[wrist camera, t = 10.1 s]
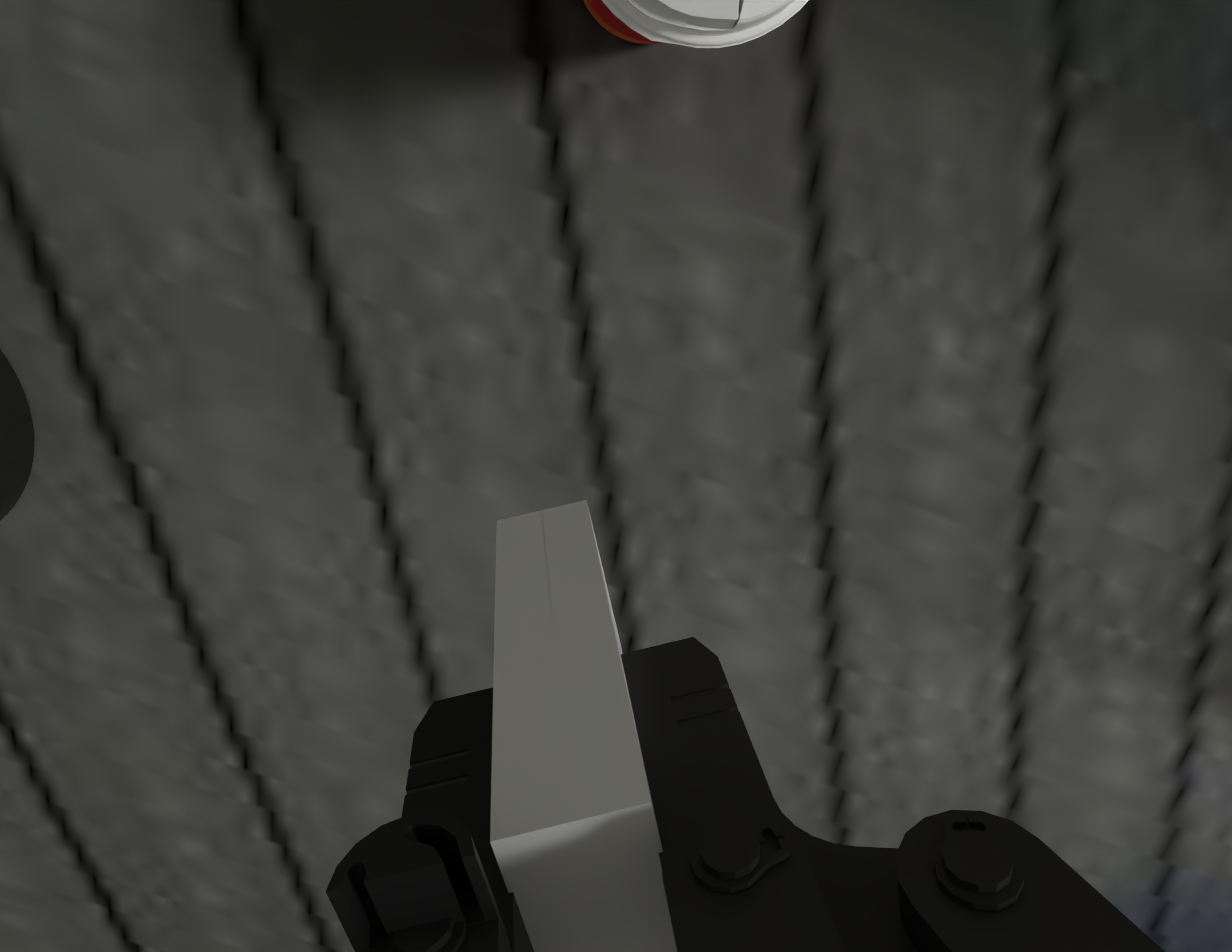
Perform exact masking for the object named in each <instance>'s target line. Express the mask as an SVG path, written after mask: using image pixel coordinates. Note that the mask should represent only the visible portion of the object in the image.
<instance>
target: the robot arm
mask: <svg viewBox="0 0 1232 952" xmlns="http://www.w3.org/2000/svg"><path fill="white" fill-rule="evenodd" d="M33 455H34V429H33V423H32V417H31V413H30V408H29V405H28V402H27V399H26V396H25V393H24V391H23V388H22V386H21V383H20V381H19V379H18V377H17V375H16V373H15V372H14V370H13V368H12V366H11V365H10V363H9V361H8V360H7V358H6V357H5V355H4V354H3V352H2V351H1V349H0V521H1V520H2V519H3V518H4V517H5V516H6V515H7V514H8V512H9V511H10V510H11V509H12V508H13V506H14V505H15V504H16V502H17V501H18V499H19V498H20V496H21V494H22V492H23V490H24V488H25V486H26V484H27V481H28V478H29V475H30V472H31V468H32V463H33ZM410 767H411V769H409V771H408V778H407V785H406V791H407V795H406V796H405V799H404V805H403V812H402V818H400V819H397V820H394V821H392V822H389V823H387V824H384V825H382V826H380V827H379V828H377V829H376V830H374V831H373V832H372V833H370V834H369V835H367V836H366V837H365V838H363V839H362V840H360V841H359V842H358V843H356V844H355V846H354V847H353V848H352V849H351V850H350V851H349V853H348V854H347V855H346V856H345V857H344V858H343V860H342V861H341V862H340V863H339V864H338V865H337V867H336V869H335V872H334V874H333V876H332V878H331V881H330V883H329V885H328V888H327V890H326V893H327V895H328V897H329V899H330V901H331V903H332V905H333V907H334V909H335V911H336V913H337V915H338V918H339V920H340V922H341V924H342V926H343V928H344V930H345V932H346V934H347V936H348V938H349V940H350V942H351V944H352V946H353V948H354V950H355V952H1165V951H1164V950H1162V949H1161V948H1160V947H1159V946H1158V945H1157V944H1156V943H1155V942H1153V941H1152V940H1151V939H1150V938H1149V937H1148V936H1147V935H1146V934H1145V933H1143V932H1142V931H1141V930H1140V929H1139V928H1138V927H1137V926H1136V925H1135V924H1133V923H1132V922H1131V921H1130V920H1129V919H1128V918H1127V917H1126V916H1125V915H1123V914H1122V913H1121V912H1120V911H1119V910H1118V909H1117V908H1116V907H1114V906H1113V905H1112V904H1111V903H1110V902H1109V901H1108V900H1107V899H1106V898H1104V897H1103V896H1102V895H1101V894H1100V893H1099V892H1098V891H1097V890H1096V889H1094V888H1093V887H1092V886H1091V885H1090V884H1089V883H1088V882H1087V881H1085V880H1084V879H1083V878H1082V877H1081V876H1080V875H1079V874H1078V873H1077V872H1075V871H1074V870H1073V869H1072V868H1071V867H1070V866H1069V865H1068V864H1067V863H1065V862H1064V861H1063V860H1062V859H1061V858H1060V857H1059V856H1058V855H1057V854H1055V853H1054V852H1053V851H1052V850H1051V849H1050V848H1049V847H1048V846H1046V845H1045V844H1044V843H1043V842H1042V841H1041V840H1040V839H1039V838H1037V837H1036V836H1034V835H1033V834H1031V833H1030V832H1028V831H1027V830H1025V829H1024V828H1022V827H1020V826H1019V825H1017V824H1016V823H1014V822H1013V821H1011V820H1008V819H1005V818H1001V817H998V816H995V815H992V814H989V813H986V812H983V811H965V810H949V811H946V812H943V813H939V814H936V815H932V816H929V817H925V818H924V819H922V820H921V821H920V822H919V823H917V824H916V825H915V826H914V827H912V828H911V829H910V830H909V831H907V832H906V833H905V835H904V838H903V840H902V842H901V844H900V847H899V849H897V848H875V847H855V846H848V845H841V844H834V843H830V842H828V841H825V840H822V839H819V838H816V837H814V836H811V835H810V834H808V833H806V832H805V831H803V830H802V829H800V828H798V827H797V826H795V825H794V824H793V823H792V822H791V821H790V820H789V819H788V818H787V817H786V816H785V815H784V814H783V813H782V812H781V810H780V808H779V807H778V805H777V803H776V802H775V800H774V798H773V796H772V793H771V791H770V788H769V786H768V783H767V780H766V778H765V775H764V773H763V770H762V768H761V765H760V763H759V760H758V758H757V755H756V753H755V750H754V748H753V745H752V742H751V740H750V737H749V735H748V732H747V730H746V727H745V725H744V722H743V720H742V717H741V715H740V712H739V711H738V708H737V704H736V702H735V699H734V697H733V694H732V692H731V689H730V688H729V685H728V682H727V679H726V677H725V674H724V671H723V669H722V666H721V664H720V661H719V659H718V656H716V655H715V654H714V653H713V652H711V651H710V650H709V649H708V648H706V647H705V646H704V645H703V644H701V643H700V642H699V641H698V640H696V639H695V638H694V637H691V638H687V639H683V640H679V641H674V642H670V643H666V644H662V645H658V646H654V647H649V648H645V649H641V650H637V651H633V652H628V653H624V654H622V649H621V645H620V640H619V636H618V632H617V627H616V623H615V619H614V615H613V610H612V606H611V602H610V598H609V593H608V589H607V585H606V581H605V576H604V572H603V568H602V564H601V559H600V555H599V551H598V547H597V542H596V538H595V534H594V530H593V525H592V521H591V517H590V513H589V508H588V504H587V500H584V501H580V502H576V503H571V504H567V505H563V506H558V507H554V508H550V509H545V510H541V511H537V512H533V513H528V514H524V515H520V516H515V517H511V518H507V519H502V520H498V521H497V528H496V578H495V627H494V677H493V688H489V689H485V690H481V691H476V692H472V693H468V694H464V695H460V696H455V697H451V698H447V699H443V700H439V701H434V702H433V704H432V705H431V707H430V708H429V710H428V711H427V713H426V714H425V716H424V718H423V719H422V721H421V722H420V724H419V725H418V727H417V729H416V730H415V732H414V737H413V744H412V751H411V758H410Z"/></svg>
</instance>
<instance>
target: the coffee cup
mask: <svg viewBox="0 0 1232 952" xmlns="http://www.w3.org/2000/svg"><path fill="white" fill-rule="evenodd" d="M583 1H584V3H585V5H586V7H587V8H588V10H589V12H590V13H591V14H592V16H593V17H594V18H595V19H596V21H597V22H598V23H599V24H600V25H601V26H602V27H604V28H605V29H606V30H607V31H609V32H610V33H612V34H613V35H615V36H617V37H619V38H621V39H624V40H627V41H630V42H634V43H641V44H658V43H671V44H678V45H683V46H688V47H694V48H721V47H727V46H732V45H738V44H742V43H744V42H747V41H750V40H753V39H755V38H758V37H761V36H763V35H764V34H766V33H768V32H770V31H771V30H773V29H775V28H777V27H779V26H780V25H782V24H783V23H784V22H785V21H787V20H788V19H789V18H790V17H792V16H793V15H794V14H796V13H797V12H798V11H799V10H800V9H801V8H802V7H803V6H804V5H805V4H806V3H807V2H808V1H809V0H583Z"/></svg>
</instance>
